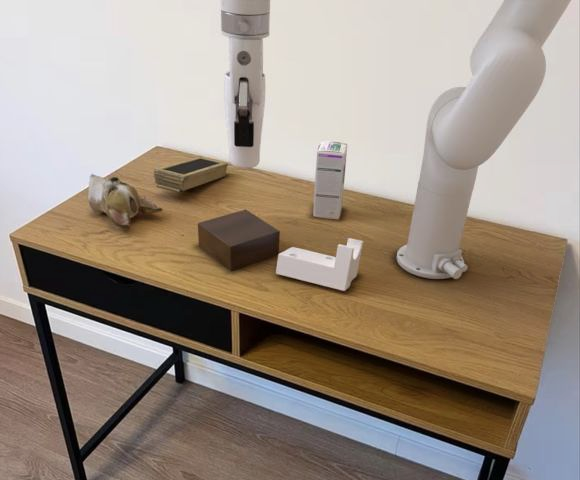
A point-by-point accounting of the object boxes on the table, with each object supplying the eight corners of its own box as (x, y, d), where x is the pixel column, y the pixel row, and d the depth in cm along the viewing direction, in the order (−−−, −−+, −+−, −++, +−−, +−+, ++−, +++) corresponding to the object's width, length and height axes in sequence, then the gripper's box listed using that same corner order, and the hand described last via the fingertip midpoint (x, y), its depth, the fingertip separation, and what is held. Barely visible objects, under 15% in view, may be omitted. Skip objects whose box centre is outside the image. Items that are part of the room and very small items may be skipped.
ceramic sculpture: (110, 158, 131) (164, 182, 125) (113, 197, 136) (165, 221, 131) (69, 174, 124) (124, 200, 118) (74, 214, 129) (127, 240, 124)
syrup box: (339, 220, 134) (346, 152, 125) (311, 217, 134) (316, 149, 125) (341, 208, 138) (348, 142, 129) (315, 205, 139) (320, 139, 130)
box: (151, 191, 137) (152, 168, 134) (203, 173, 156) (204, 153, 153) (185, 200, 135) (186, 177, 132) (233, 181, 153) (235, 160, 151)
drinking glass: (262, 172, 110) (264, 81, 100) (223, 170, 110) (221, 78, 100) (264, 157, 115) (267, 70, 106) (227, 155, 115) (226, 67, 106)
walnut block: (279, 254, 121) (280, 231, 118) (230, 271, 115) (230, 246, 112) (245, 232, 127) (245, 209, 124) (198, 246, 122) (197, 222, 119)
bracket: (355, 281, 116) (363, 241, 113) (344, 291, 110) (352, 248, 107) (289, 265, 120) (295, 225, 117) (275, 273, 113) (281, 231, 110)
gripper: (268, 37, 92) (265, 158, 103) (270, 14, 105) (267, 123, 116) (216, 34, 92) (219, 157, 103) (224, 12, 105) (226, 122, 116)
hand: (244, 138), depth 109 cm, fingers closed on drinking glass, 5 cm apart
